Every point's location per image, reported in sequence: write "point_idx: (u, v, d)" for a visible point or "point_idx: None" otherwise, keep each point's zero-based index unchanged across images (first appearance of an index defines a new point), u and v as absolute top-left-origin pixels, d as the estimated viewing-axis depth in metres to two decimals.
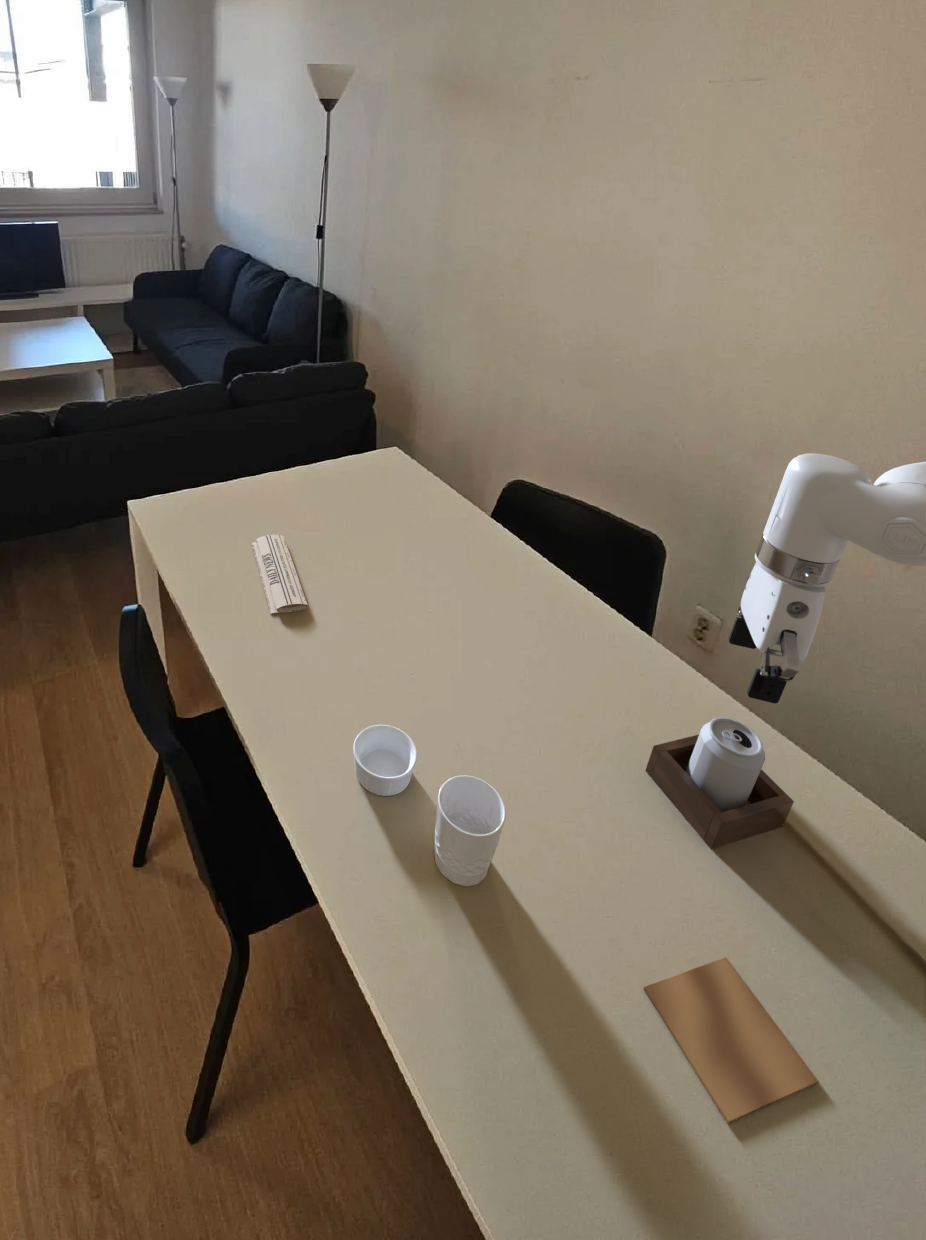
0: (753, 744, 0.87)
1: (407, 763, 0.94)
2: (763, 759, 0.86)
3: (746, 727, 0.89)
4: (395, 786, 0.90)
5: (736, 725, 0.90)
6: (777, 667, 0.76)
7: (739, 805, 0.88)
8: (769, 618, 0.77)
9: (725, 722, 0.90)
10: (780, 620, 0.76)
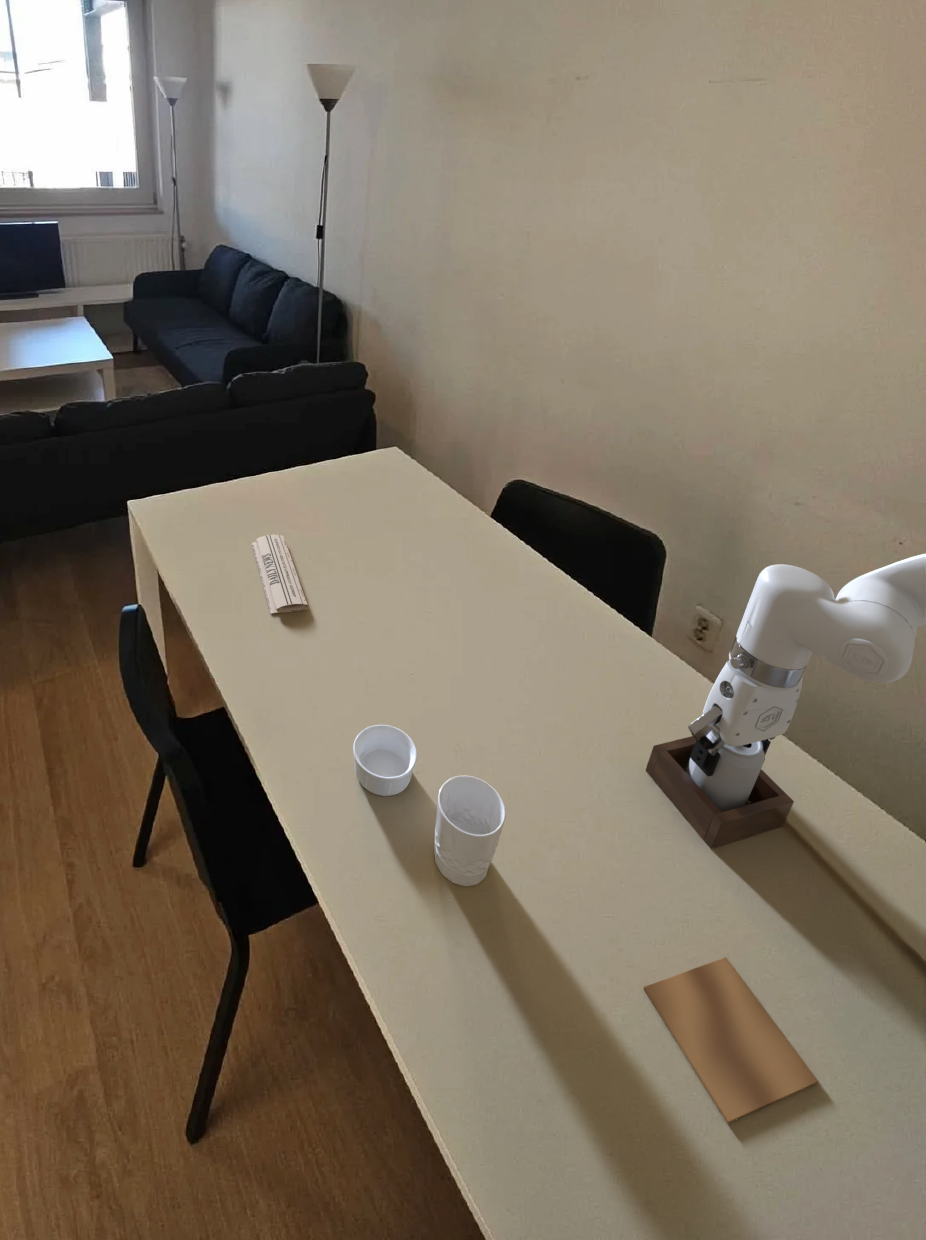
0: (753, 744, 0.87)
1: (407, 763, 0.94)
2: (763, 759, 0.86)
3: None
4: (395, 786, 0.90)
5: None
6: None
7: (739, 805, 0.88)
8: None
9: None
10: (714, 693, 0.85)
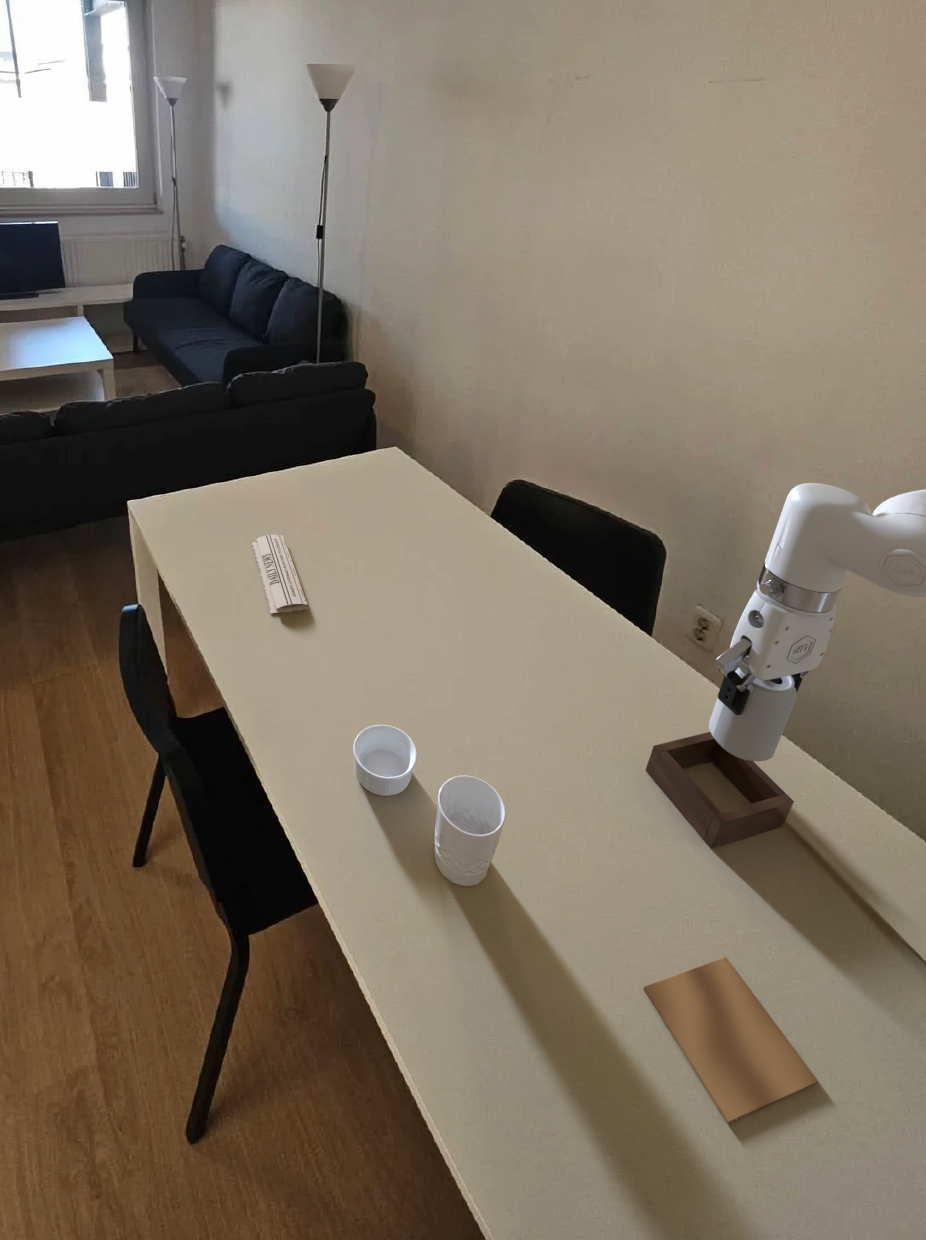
0: (784, 680, 0.83)
1: (407, 763, 0.94)
2: (795, 695, 0.81)
3: None
4: (395, 786, 0.90)
5: None
6: None
7: (770, 746, 0.83)
8: None
9: None
10: (742, 625, 0.80)
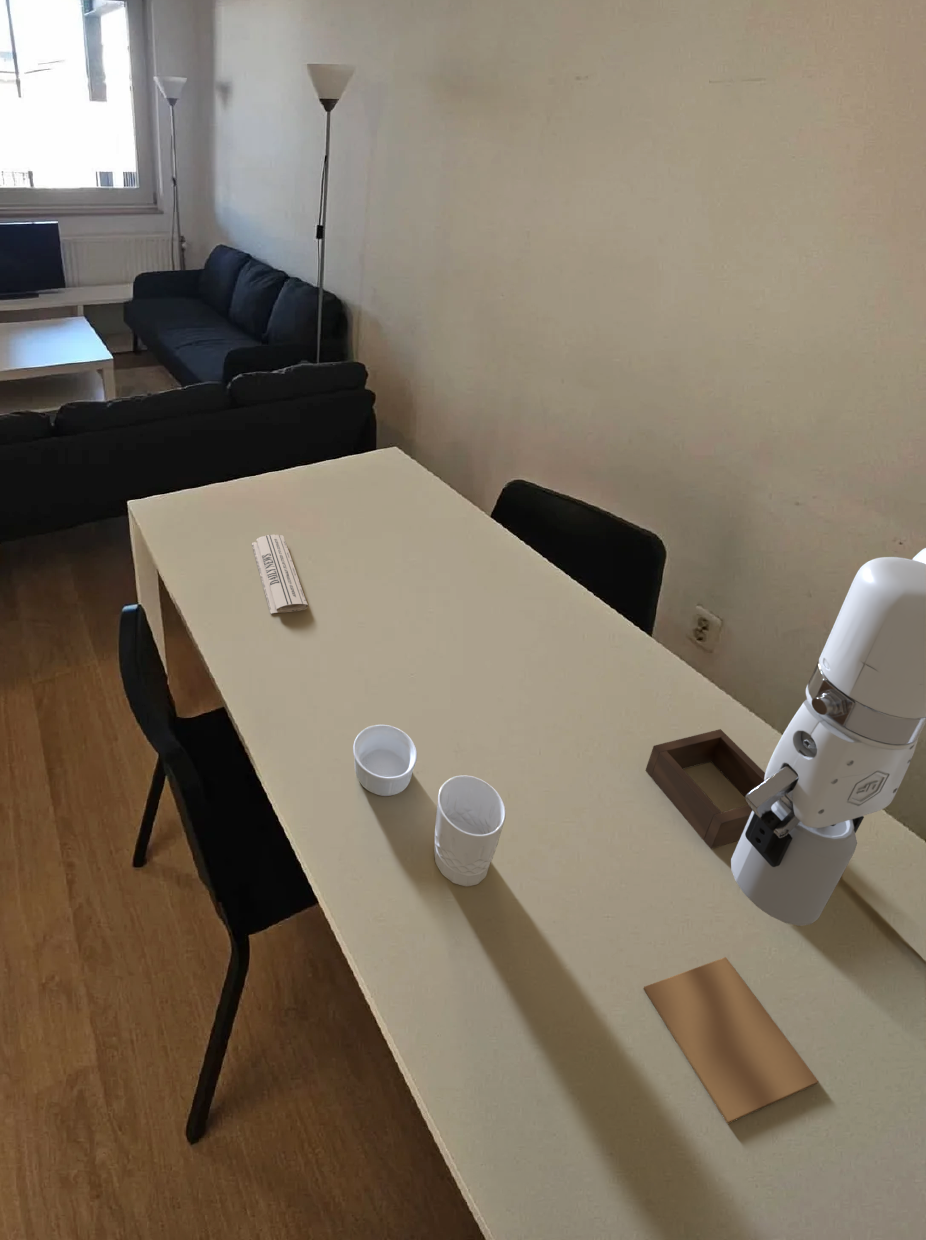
0: None
1: (407, 763, 0.94)
2: (854, 843, 0.59)
3: None
4: (395, 786, 0.90)
5: None
6: None
7: (817, 907, 0.61)
8: None
9: None
10: (784, 748, 0.57)
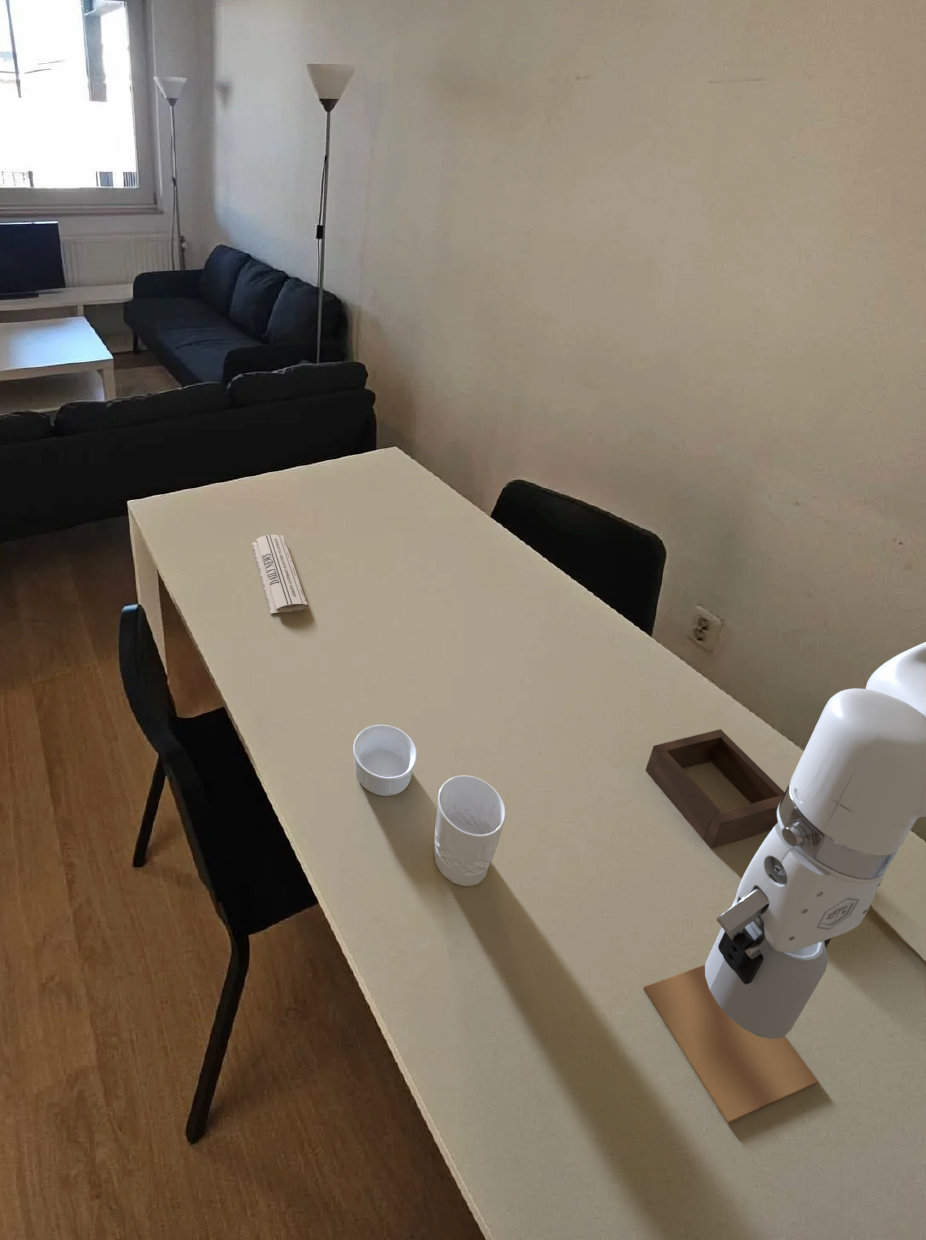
0: None
1: (407, 763, 0.94)
2: (825, 962, 0.59)
3: None
4: (395, 786, 0.90)
5: None
6: None
7: (789, 1022, 0.61)
8: None
9: None
10: (755, 870, 0.57)
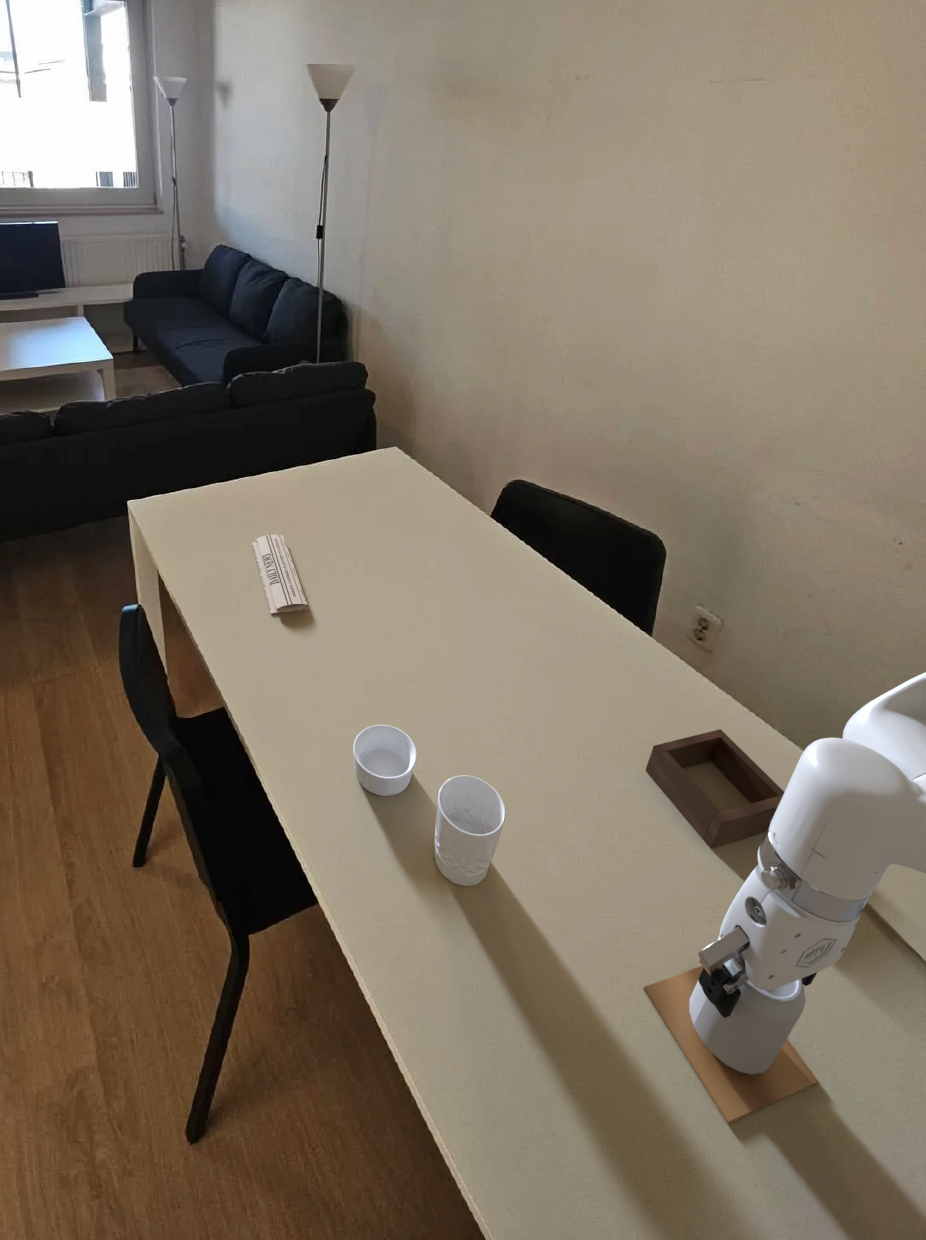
0: None
1: (407, 763, 0.94)
2: (803, 1002, 0.61)
3: None
4: (395, 786, 0.90)
5: None
6: None
7: (768, 1059, 0.63)
8: None
9: None
10: (737, 910, 0.60)
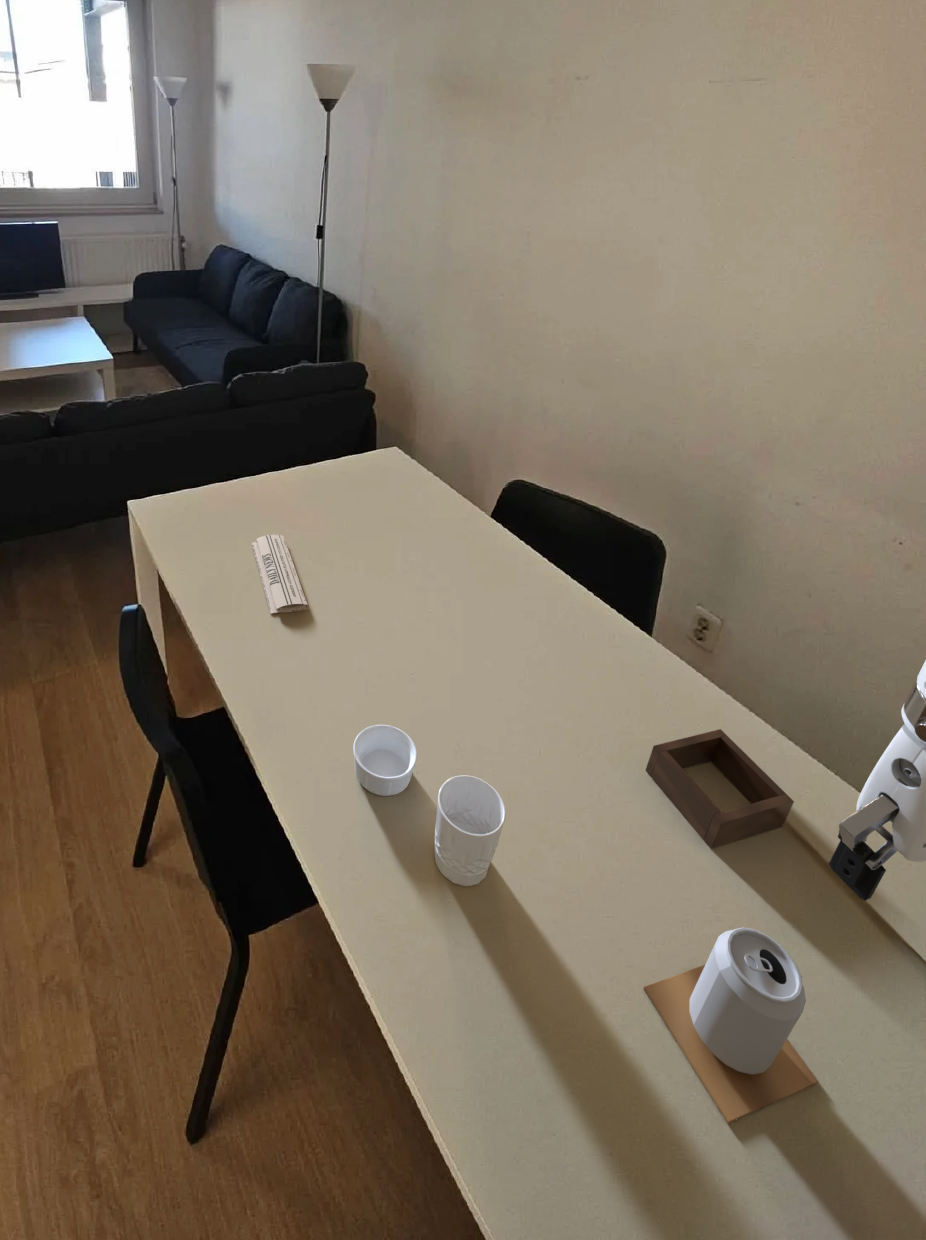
0: (788, 977, 0.62)
1: (407, 763, 0.94)
2: (803, 1002, 0.61)
3: (778, 946, 0.64)
4: (395, 786, 0.90)
5: (763, 940, 0.65)
6: None
7: (768, 1059, 0.63)
8: None
9: (747, 935, 0.66)
10: (881, 776, 0.54)
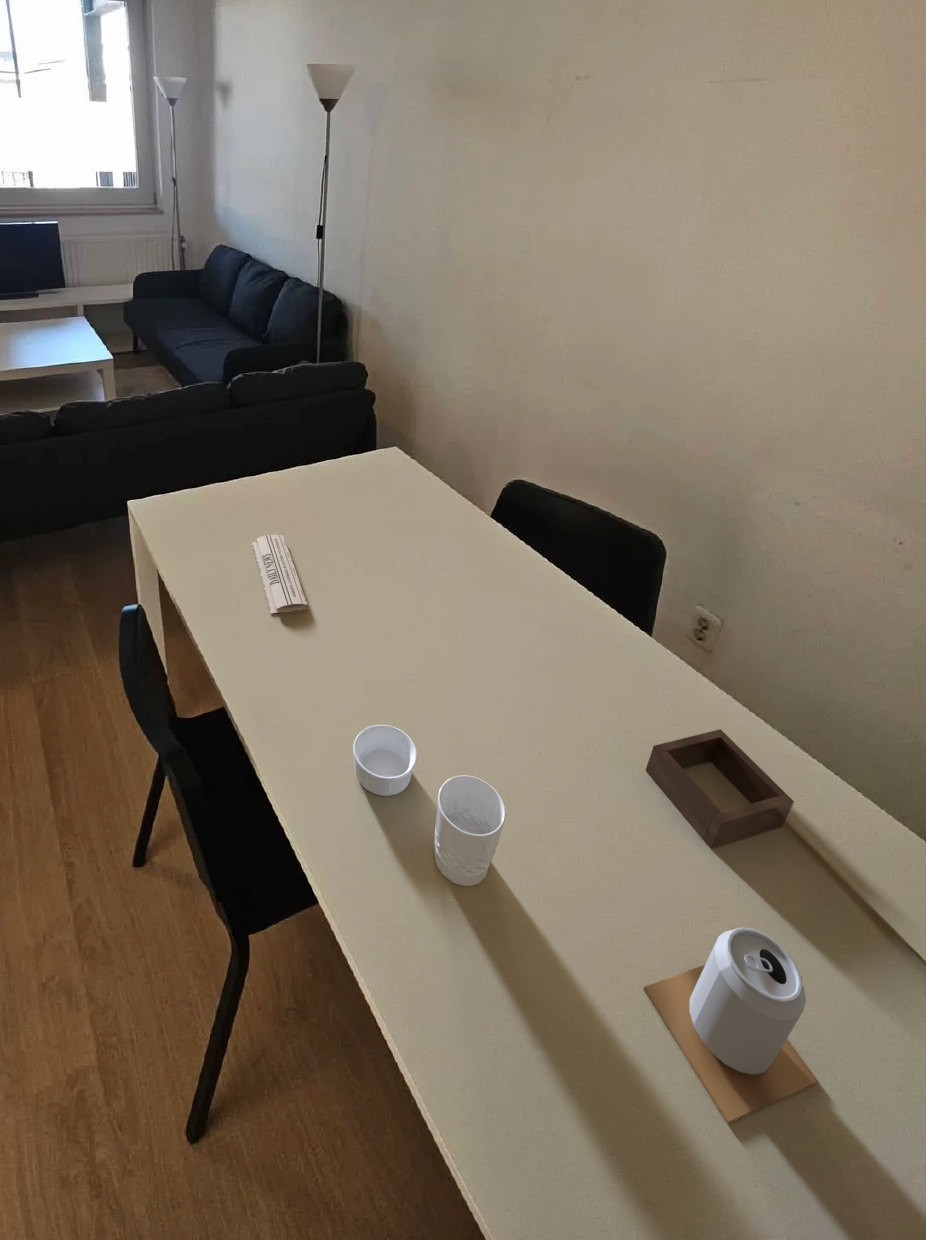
0: (788, 977, 0.62)
1: (407, 763, 0.94)
2: (803, 1002, 0.61)
3: (778, 946, 0.64)
4: (395, 786, 0.90)
5: (763, 940, 0.65)
6: None
7: (768, 1059, 0.63)
8: None
9: (747, 935, 0.66)
10: None
